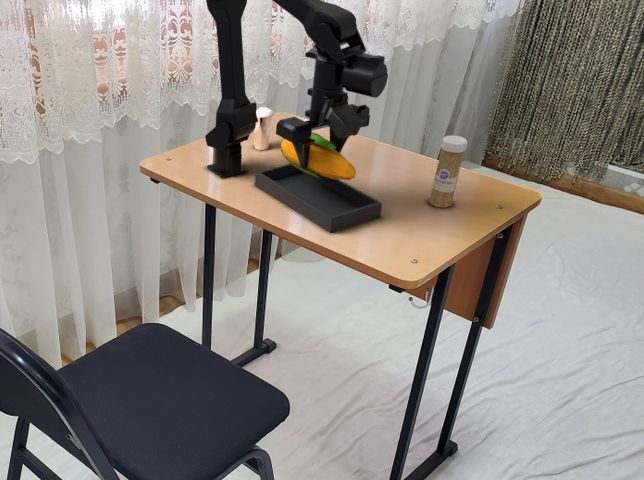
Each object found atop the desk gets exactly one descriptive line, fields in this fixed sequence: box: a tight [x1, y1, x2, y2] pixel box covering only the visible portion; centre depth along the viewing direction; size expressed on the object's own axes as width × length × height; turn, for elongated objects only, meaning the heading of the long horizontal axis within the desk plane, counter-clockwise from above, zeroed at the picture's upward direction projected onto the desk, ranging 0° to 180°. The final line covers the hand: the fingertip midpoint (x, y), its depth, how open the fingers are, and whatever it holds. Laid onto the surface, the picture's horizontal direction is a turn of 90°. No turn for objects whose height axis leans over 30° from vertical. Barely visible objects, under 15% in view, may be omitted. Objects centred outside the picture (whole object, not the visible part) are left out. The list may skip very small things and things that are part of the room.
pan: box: [254, 163, 383, 233], centre depth 149 cm, size 25×13×3 cm, turn 31°
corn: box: [280, 131, 357, 181], centre depth 144 cm, size 7×8×20 cm
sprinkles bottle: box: [428, 135, 468, 208], centre depth 144 cm, size 5×5×14 cm
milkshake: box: [253, 106, 275, 151], centre depth 169 cm, size 4×5×10 cm
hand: (318, 165), depth 145 cm, fingers closed on corn, 7 cm apart
